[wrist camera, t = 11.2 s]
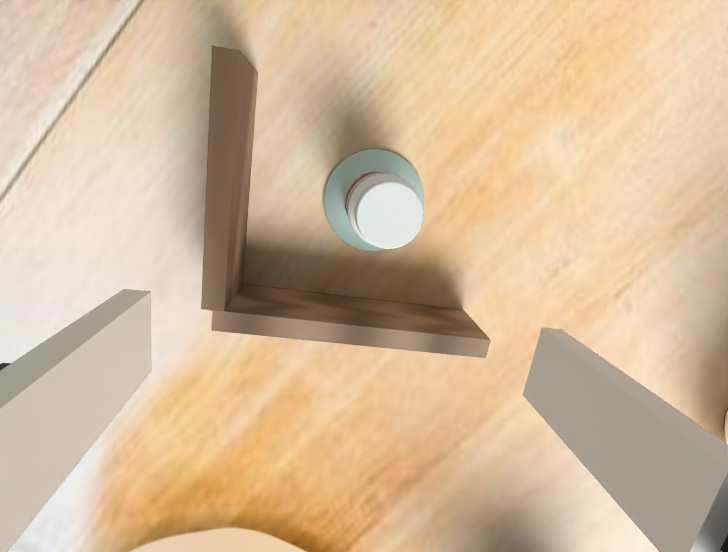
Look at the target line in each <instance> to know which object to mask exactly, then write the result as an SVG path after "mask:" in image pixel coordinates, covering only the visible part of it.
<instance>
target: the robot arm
mask: <svg viewBox="0 0 728 552" xmlns="http://www.w3.org/2000/svg"><path fill="white" fill-rule="evenodd" d="M150 372H151V292H150V291H139V290H128V289H123V290H122V291H120V292H119V293H117V294H116V295H114V296H113V297H111V298H110V299H108V300H107V301H105V302H104V303H102V304H101V305H99V306H98V307H96V308H95V309H93V310H92V311H90V312H89V313H87V314H85V315H84V316H82V317H81V318H79V319H78V320H76V321H75V322H73V323H72V324H70V325H69V326H67V327H66V328H64V329H63V330H61V331H60V332H58V333H57V334H55V335H54V336H52V337H51V338H49V339H48V340H46V341H44V342H43V343H41V344H40V345H38V346H37V347H35V348H34V349H32V350H31V351H29V352H28V353H26V354H25V355H23V356H22V357H20V358H19V359H17V360H16V361H14V362H13V363H11V364H10V363H2V364H0V552H8V551H9V549H10V548H11V547H12V546H13V544H14V543H15V542H16V541H17V539H18V538H19V537H20V536H21V534H22V533H23V532H24V531H25V529H26V528H27V527H28V526H29V524H30V523H31V522H32V520H33V519H34V518H35V517H36V515H37V514H38V513H39V512H40V510H41V509H42V508H43V507H44V505H45V504H46V503H47V502H48V500H49V499H50V498H51V497H52V495H53V494H54V493H55V492H56V490H57V489H58V488H59V487H60V485H61V484H62V483H63V482H64V480H65V479H66V478H67V477H68V475H69V474H70V473H71V471H72V470H73V469H74V468H75V466H76V465H77V464H78V463H79V461H80V460H81V459H82V458H83V456H84V455H85V454H86V453H87V451H88V450H89V449H90V448H91V446H92V445H93V444H94V443H95V441H96V440H97V439H98V438H99V436H100V435H101V434H102V433H103V431H104V430H105V429H106V428H107V426H108V425H109V424H110V422H111V421H112V420H113V419H114V417H115V416H116V415H117V414H118V412H119V411H120V410H121V409H122V407H123V406H124V405H125V404H126V402H127V401H128V400H129V399H130V397H131V396H132V395H133V394H134V392H135V391H136V390H137V389H138V387H139V386H140V385H141V384H142V382H143V381H144V380H145V379H146V377H147V376H148V375H149V373H150ZM523 396H524V397H525V398H526V399H527V400H528V402H529V403H530V404H531V405H532V406H533V407H534V408H535V410H536V411H537V412H538V413H539V414H540V415H541V416H542V418H543V419H544V420H545V421H546V422H547V423H548V424H549V426H550V427H551V428H552V429H553V430H554V431H555V432H556V434H557V435H558V436H559V437H560V438H561V439H562V440H563V442H564V443H565V444H566V445H567V446H568V447H569V449H570V450H571V451H572V452H573V453H574V454H575V455H576V457H577V458H578V459H579V460H580V461H581V462H582V463H583V465H584V466H585V467H586V468H587V469H588V470H589V471H590V473H591V474H592V475H593V476H594V477H595V478H596V479H597V481H598V482H599V483H600V484H601V485H602V486H603V487H604V489H605V490H606V491H607V492H608V493H609V494H610V496H611V497H612V498H613V499H614V500H615V501H616V502H617V504H618V505H619V506H620V507H621V508H622V509H623V510H624V512H625V513H626V514H627V515H628V516H629V517H630V518H631V520H632V521H633V522H634V523H635V524H636V525H637V526H638V528H639V529H640V530H641V531H642V532H643V533H644V534H645V536H646V537H647V538H648V539H649V540H650V541H651V543H652V544H653V545H654V546H655V547H656V548H657V549H658V551H659V552H721V551H722V552H728V444H726V443H725V442H723V441H722V440H720V439H719V438H717V437H716V436H715V435H713V434H712V433H710V432H709V431H707V430H706V429H704V428H703V427H702V426H700V425H699V424H697V423H696V422H694V421H693V420H691V419H690V418H689V417H687V416H686V415H684V414H683V413H681V412H680V411H678V410H677V409H676V408H674V407H673V406H671V405H670V404H668V403H667V402H666V401H664V400H663V399H661V398H660V397H658V396H657V395H655V394H654V393H653V392H651V391H650V390H648V389H647V388H645V387H644V386H642V385H641V384H640V383H638V382H637V381H635V380H634V379H632V378H631V377H629V376H628V375H627V374H625V373H624V372H622V371H621V370H619V369H618V368H616V367H615V366H614V365H612V364H611V363H609V362H608V361H606V360H605V359H603V358H602V357H601V356H599V355H598V354H596V353H595V352H593V351H592V350H591V349H589V348H588V347H586V346H585V345H583V344H582V343H580V342H579V341H578V340H576V339H575V338H573V337H572V336H570V335H569V334H567V333H566V332H565V331H563V330H562V329H552V328H542V329H541V333H540V336H539V340H538V343H537V347H536V350H535V354H534V357H533V361H532V364H531V368H530V371H529V375H528V378H527V382H526V385H525V389H524V392H523Z"/></svg>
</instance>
